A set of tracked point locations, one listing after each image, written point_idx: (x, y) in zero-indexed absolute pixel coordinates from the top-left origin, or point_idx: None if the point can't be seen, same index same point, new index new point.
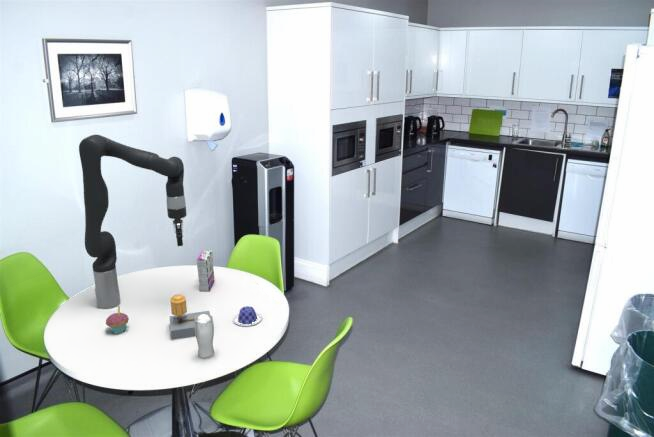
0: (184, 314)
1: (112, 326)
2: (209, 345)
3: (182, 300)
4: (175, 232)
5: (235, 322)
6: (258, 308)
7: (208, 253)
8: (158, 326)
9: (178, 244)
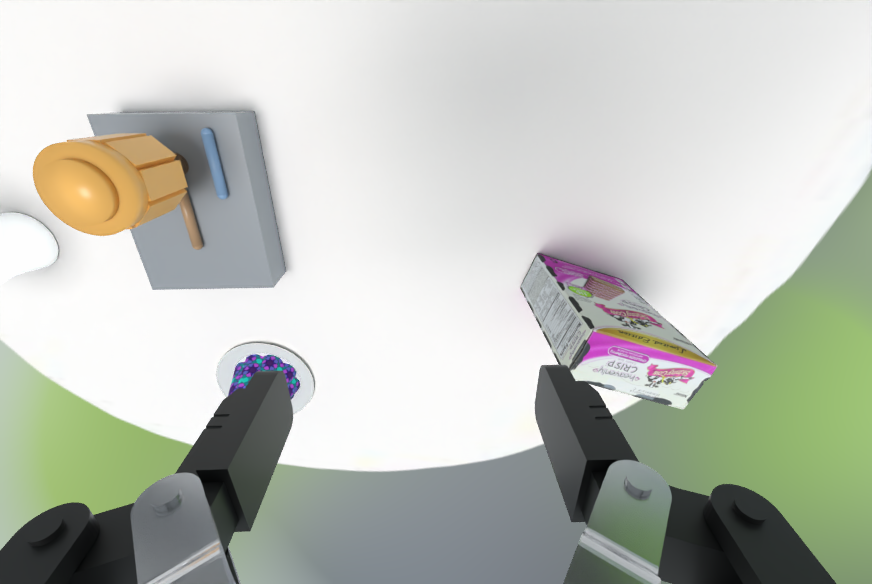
0: (248, 186)
1: None
2: None
3: (59, 216)
4: (174, 572)
5: (245, 347)
6: (338, 414)
7: (650, 392)
8: (246, 52)
9: (222, 401)
